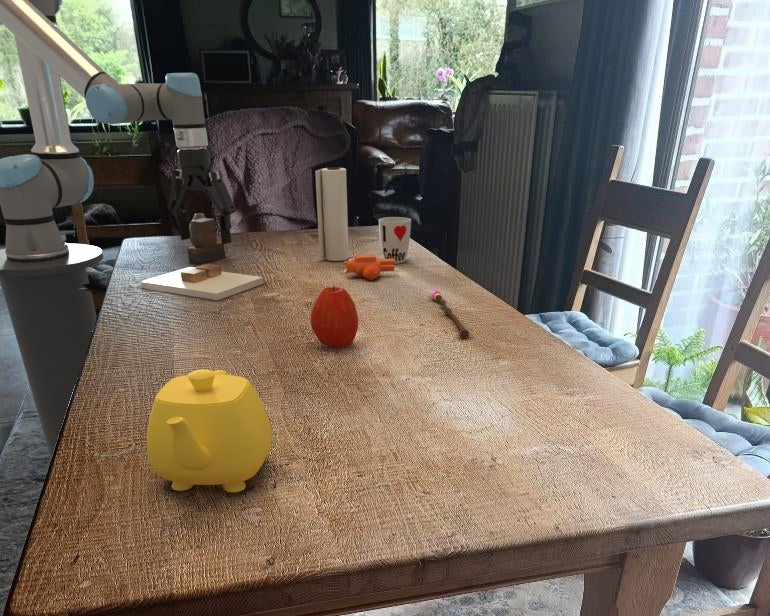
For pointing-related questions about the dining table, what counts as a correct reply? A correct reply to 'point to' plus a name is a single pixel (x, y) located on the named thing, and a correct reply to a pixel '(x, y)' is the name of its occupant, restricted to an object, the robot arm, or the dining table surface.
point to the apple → (334, 318)
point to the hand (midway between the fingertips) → (206, 241)
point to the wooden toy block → (204, 242)
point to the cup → (395, 237)
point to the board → (203, 284)
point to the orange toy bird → (368, 266)
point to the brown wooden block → (193, 275)
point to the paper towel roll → (332, 213)
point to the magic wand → (450, 314)
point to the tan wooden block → (211, 270)
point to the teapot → (208, 431)
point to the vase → (196, 216)
